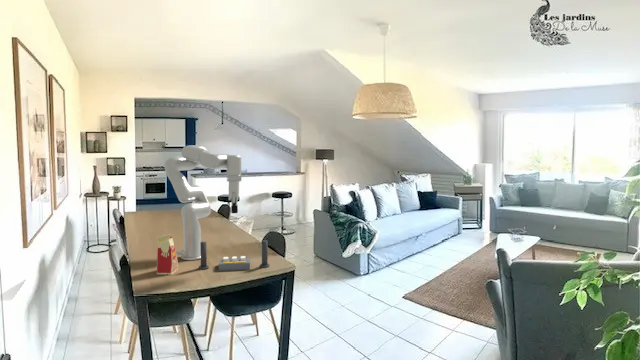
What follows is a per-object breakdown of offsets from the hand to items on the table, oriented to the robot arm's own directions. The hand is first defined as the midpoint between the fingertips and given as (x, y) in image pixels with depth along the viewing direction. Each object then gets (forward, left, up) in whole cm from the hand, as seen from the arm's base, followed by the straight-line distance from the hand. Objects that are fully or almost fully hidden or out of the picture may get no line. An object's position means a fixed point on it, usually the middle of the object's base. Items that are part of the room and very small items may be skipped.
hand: (234, 212), depth 211 cm
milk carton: (-34, -4, -30) cm, 45 cm away
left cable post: (-16, 0, -29) cm, 34 cm away
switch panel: (0, 0, -30) cm, 30 cm away
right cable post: (+16, 0, -29) cm, 34 cm away
